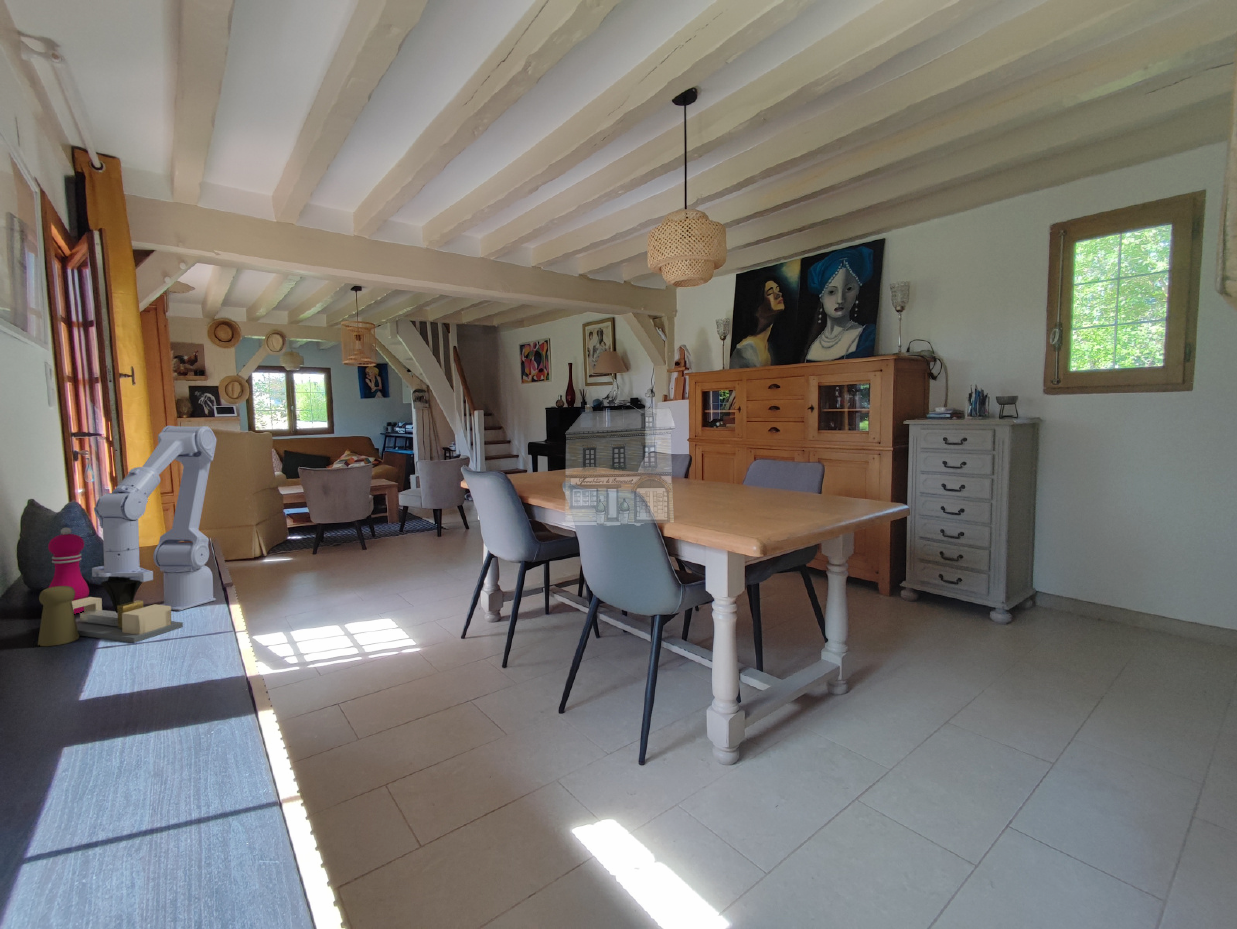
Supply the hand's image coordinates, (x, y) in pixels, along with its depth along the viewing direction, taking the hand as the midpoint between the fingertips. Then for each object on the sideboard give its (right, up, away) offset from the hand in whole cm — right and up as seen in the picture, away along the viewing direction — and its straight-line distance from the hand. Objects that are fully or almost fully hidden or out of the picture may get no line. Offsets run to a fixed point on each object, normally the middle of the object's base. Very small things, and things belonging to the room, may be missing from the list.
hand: (123, 612), depth 123 cm
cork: (-7, -4, -7) cm, 11 cm away
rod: (-2, -3, +1) cm, 3 cm away
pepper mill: (-22, -3, +11) cm, 25 cm away
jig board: (-3, -4, +1) cm, 5 cm away
